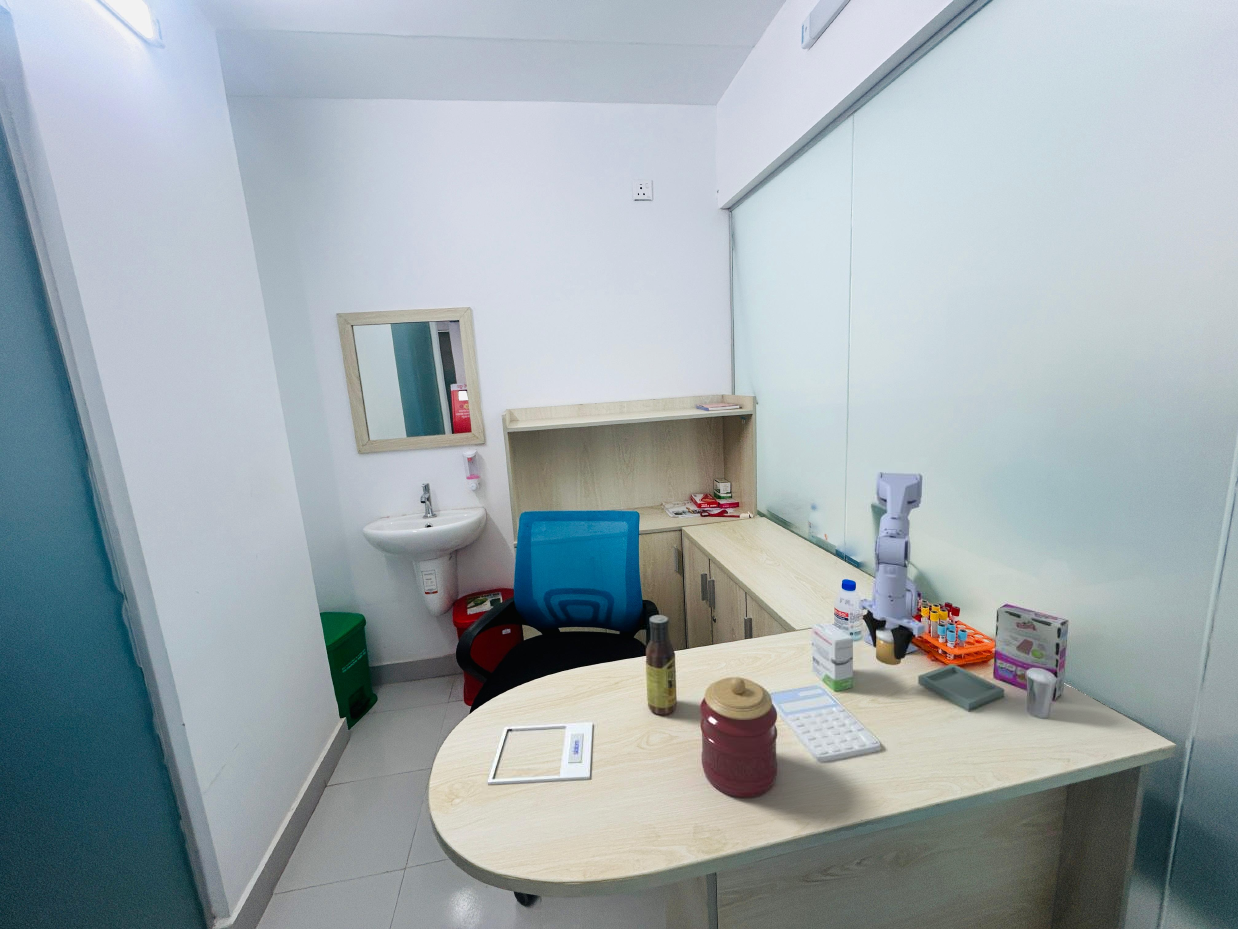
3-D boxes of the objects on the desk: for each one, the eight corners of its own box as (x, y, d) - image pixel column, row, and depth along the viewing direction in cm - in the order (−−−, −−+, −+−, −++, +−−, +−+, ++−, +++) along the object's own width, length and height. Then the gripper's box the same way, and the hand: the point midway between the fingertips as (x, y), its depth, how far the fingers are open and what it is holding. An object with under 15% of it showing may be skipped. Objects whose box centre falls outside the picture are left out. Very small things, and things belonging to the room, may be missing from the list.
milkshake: (1059, 725, 96) (1063, 677, 95) (1023, 715, 100) (1027, 668, 98) (1057, 713, 100) (1062, 666, 98) (1023, 703, 103) (1026, 658, 102)
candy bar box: (1063, 693, 106) (1070, 619, 103) (1055, 702, 103) (1061, 627, 101) (1001, 670, 115) (1005, 602, 113) (991, 677, 112) (996, 608, 110)
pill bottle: (870, 656, 111) (870, 630, 110) (886, 651, 112) (887, 625, 112) (889, 667, 106) (890, 640, 105) (906, 661, 108) (908, 635, 107)
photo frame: (589, 775, 89) (487, 781, 89) (589, 781, 89) (487, 787, 89) (592, 721, 103) (504, 726, 103) (592, 726, 103) (505, 731, 103)
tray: (918, 683, 112) (918, 675, 111) (952, 670, 116) (952, 663, 115) (968, 711, 102) (968, 703, 101) (1003, 697, 106) (1004, 689, 105)
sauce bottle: (675, 717, 104) (672, 627, 101) (645, 715, 105) (641, 626, 102) (678, 698, 110) (675, 613, 107) (650, 696, 112) (646, 611, 109)
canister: (702, 797, 84) (699, 700, 81) (700, 743, 96) (698, 657, 94) (783, 803, 82) (783, 703, 79) (771, 746, 95) (770, 659, 92)
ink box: (853, 688, 111) (854, 638, 109) (834, 692, 110) (835, 641, 108) (828, 667, 119) (829, 620, 118) (810, 671, 118) (810, 624, 117)
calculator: (817, 766, 90) (817, 756, 90) (764, 699, 109) (764, 691, 109) (883, 752, 92) (884, 743, 92) (820, 690, 112) (820, 682, 112)
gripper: (849, 584, 112) (848, 641, 114) (908, 609, 99) (905, 673, 101) (872, 578, 115) (871, 634, 117) (933, 602, 101) (930, 664, 103)
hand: (888, 652), depth 109 cm, fingers closed on pill bottle, 5 cm apart
